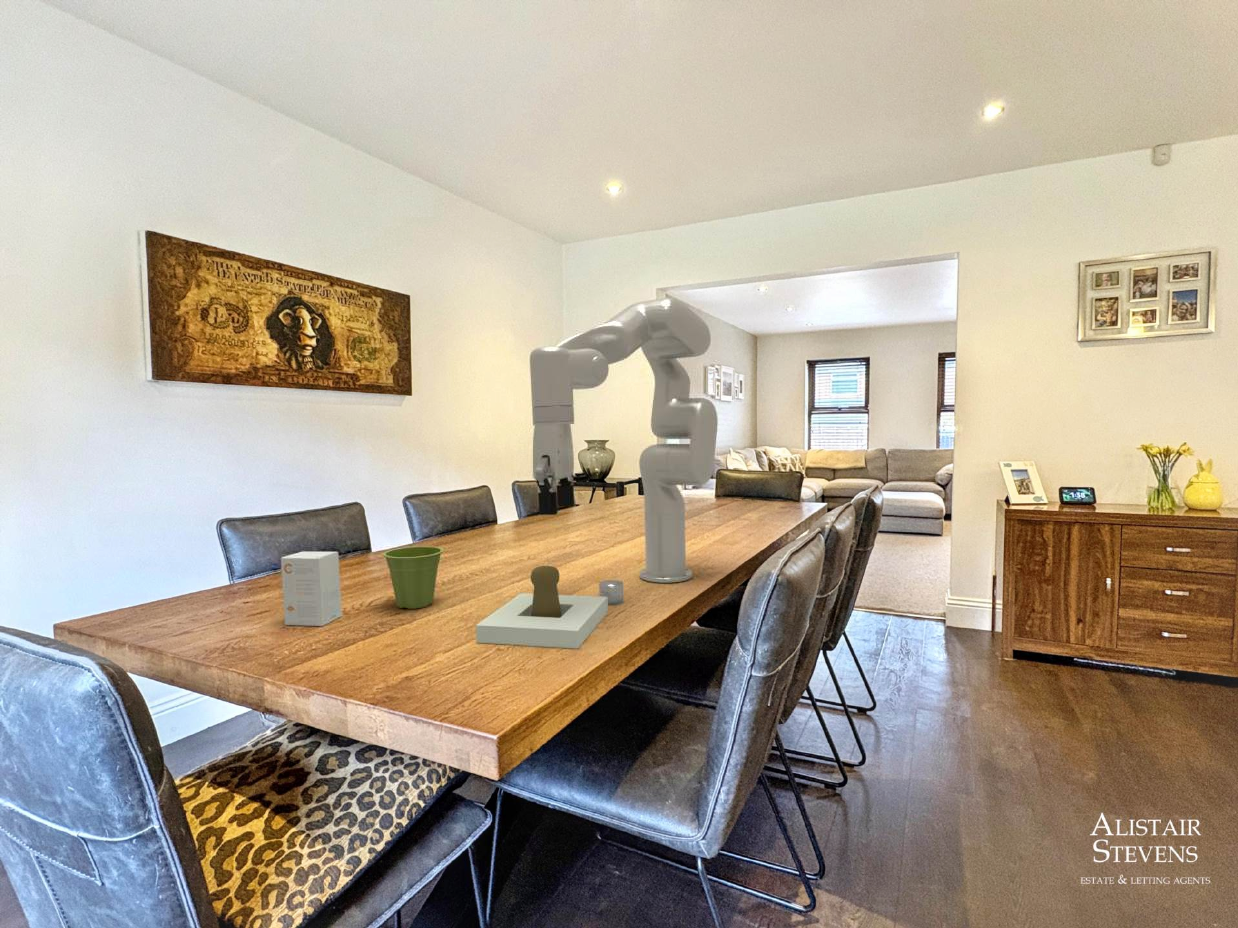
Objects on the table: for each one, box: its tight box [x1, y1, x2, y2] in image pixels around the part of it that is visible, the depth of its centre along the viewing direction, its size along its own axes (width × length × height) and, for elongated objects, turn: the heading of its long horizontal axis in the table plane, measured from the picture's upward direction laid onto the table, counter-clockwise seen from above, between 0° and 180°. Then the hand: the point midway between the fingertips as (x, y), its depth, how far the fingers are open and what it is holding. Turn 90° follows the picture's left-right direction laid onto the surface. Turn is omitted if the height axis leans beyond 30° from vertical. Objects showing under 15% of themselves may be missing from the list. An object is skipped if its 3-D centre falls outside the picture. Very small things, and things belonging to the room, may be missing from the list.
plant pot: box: [382, 545, 444, 610], centre depth 128 cm, size 12×12×11 cm
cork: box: [530, 565, 562, 618], centre depth 111 cm, size 6×6×11 cm
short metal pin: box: [598, 579, 625, 606], centre depth 127 cm, size 5×5×4 cm
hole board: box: [475, 592, 609, 650], centre depth 112 cm, size 20×18×3 cm
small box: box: [280, 551, 343, 627], centre depth 118 cm, size 8×6×13 cm
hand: (557, 510), depth 113 cm, fingers open, 9 cm apart
